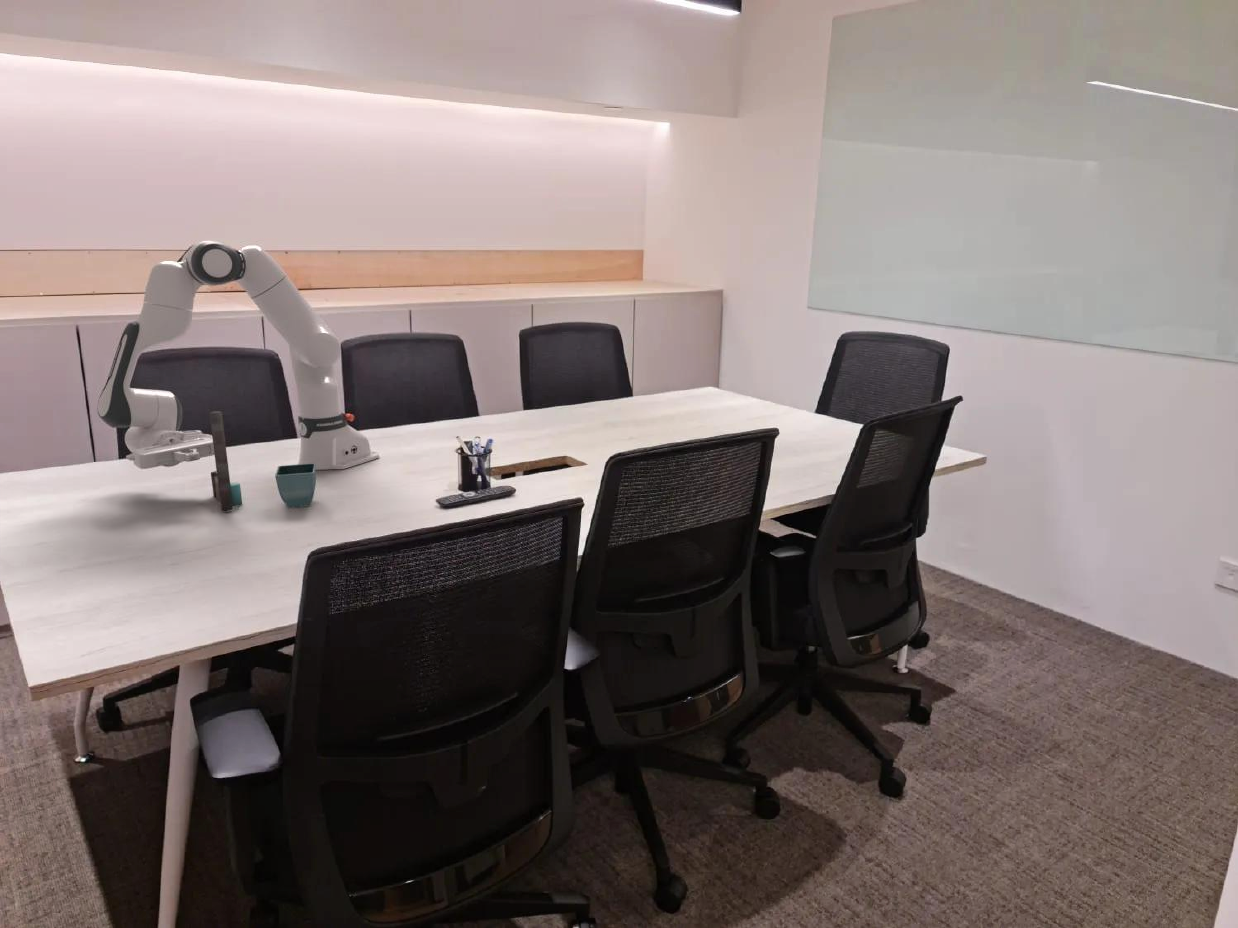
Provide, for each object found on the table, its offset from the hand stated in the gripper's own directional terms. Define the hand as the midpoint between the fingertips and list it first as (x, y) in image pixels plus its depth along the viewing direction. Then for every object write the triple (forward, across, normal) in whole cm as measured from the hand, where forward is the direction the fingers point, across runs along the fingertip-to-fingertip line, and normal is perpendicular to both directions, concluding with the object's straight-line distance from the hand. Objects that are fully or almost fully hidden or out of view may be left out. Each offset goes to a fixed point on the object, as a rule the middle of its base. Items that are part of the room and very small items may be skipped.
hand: (193, 457), depth 212 cm
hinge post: (-4, +7, +12) cm, 15 cm away
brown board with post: (+4, +4, +12) cm, 13 cm away
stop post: (+6, +6, +12) cm, 15 cm away
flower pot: (+18, +16, +12) cm, 27 cm away
